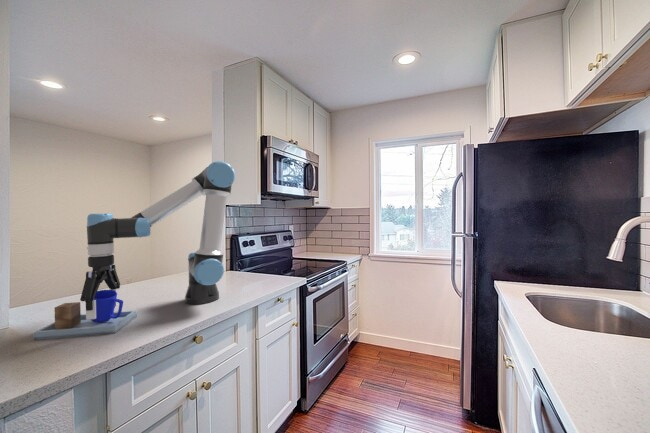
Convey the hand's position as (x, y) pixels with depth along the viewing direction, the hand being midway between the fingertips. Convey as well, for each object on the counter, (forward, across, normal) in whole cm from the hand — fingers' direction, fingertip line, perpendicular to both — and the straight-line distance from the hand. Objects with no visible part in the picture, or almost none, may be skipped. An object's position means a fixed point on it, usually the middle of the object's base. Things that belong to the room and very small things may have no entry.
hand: (102, 312), depth 103 cm
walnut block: (+4, 0, -11) cm, 12 cm away
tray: (+5, 0, -4) cm, 7 cm away
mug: (+4, -3, -1) cm, 5 cm away
